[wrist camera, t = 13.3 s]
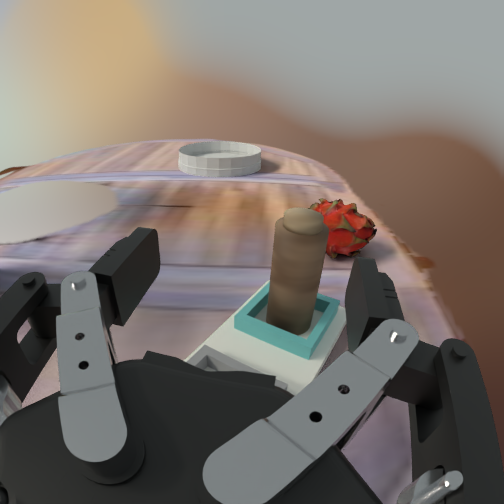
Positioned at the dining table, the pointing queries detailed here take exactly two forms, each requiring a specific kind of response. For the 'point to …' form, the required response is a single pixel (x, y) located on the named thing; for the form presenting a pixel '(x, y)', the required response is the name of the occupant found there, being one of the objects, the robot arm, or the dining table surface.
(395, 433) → the dining table surface
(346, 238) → the dragon fruit
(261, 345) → the frame board
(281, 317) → the jar
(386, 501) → the dining table surface
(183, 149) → the dish
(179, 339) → the dining table surface
